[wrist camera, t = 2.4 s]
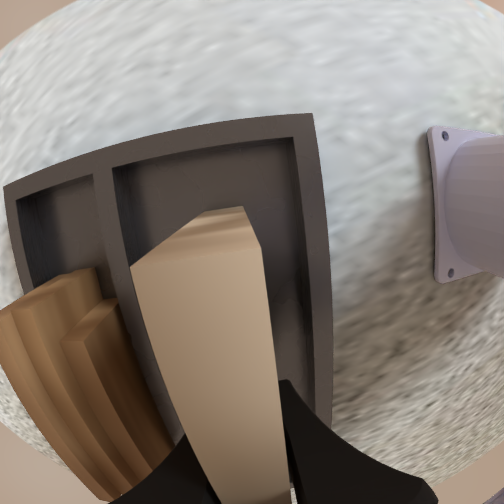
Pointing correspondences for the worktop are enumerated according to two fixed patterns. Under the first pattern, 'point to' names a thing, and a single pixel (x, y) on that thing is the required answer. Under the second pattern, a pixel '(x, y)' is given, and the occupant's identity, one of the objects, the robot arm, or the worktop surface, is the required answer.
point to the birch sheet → (218, 352)
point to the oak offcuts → (83, 382)
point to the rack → (181, 213)
